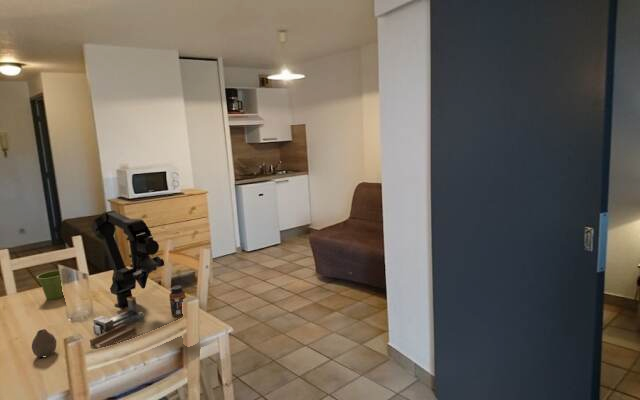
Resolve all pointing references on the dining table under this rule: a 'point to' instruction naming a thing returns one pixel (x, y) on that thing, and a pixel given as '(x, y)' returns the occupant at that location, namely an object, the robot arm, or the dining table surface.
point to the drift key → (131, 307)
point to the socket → (109, 324)
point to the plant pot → (51, 284)
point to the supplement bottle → (176, 300)
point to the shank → (100, 326)
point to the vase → (43, 343)
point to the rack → (112, 336)
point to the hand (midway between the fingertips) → (143, 288)
